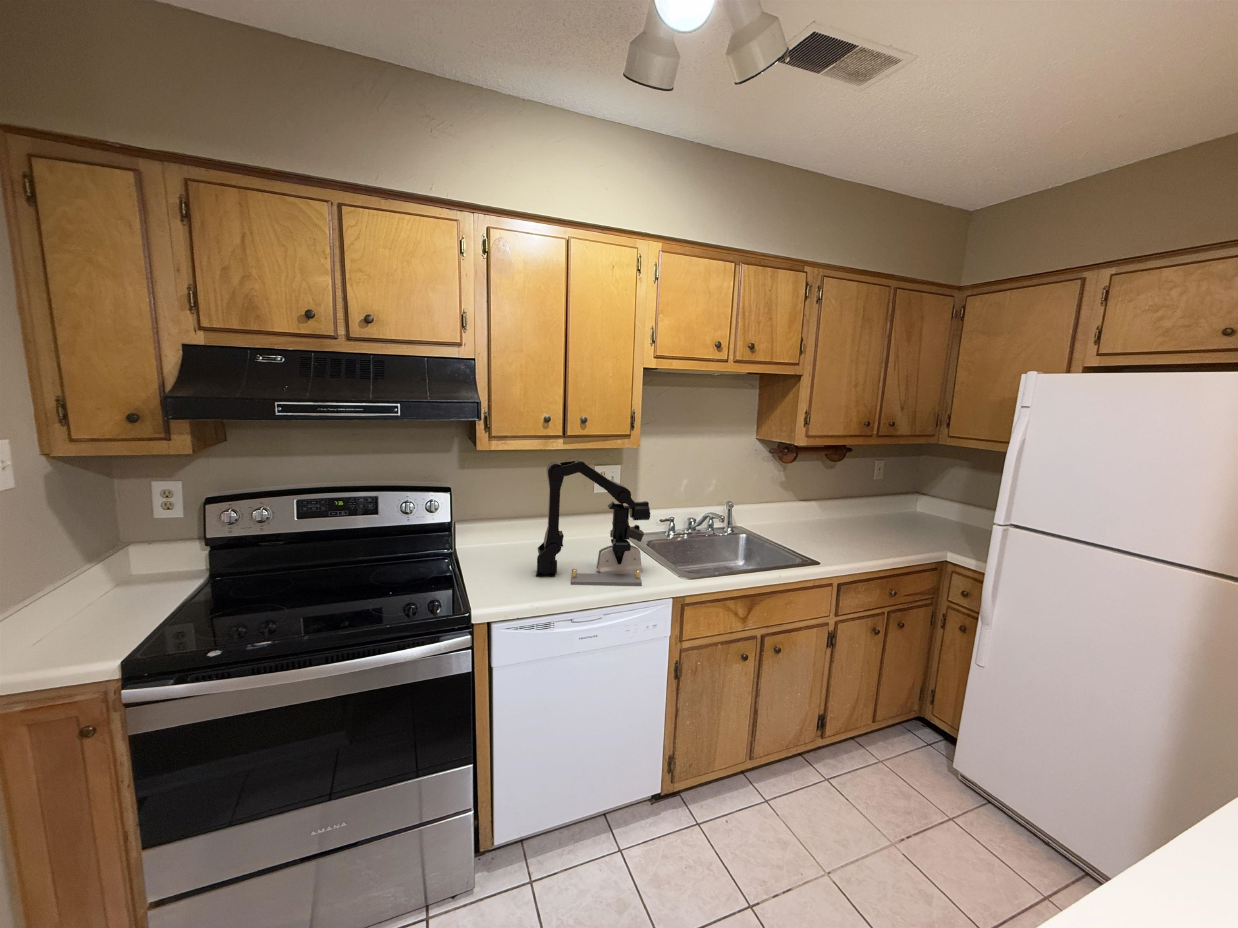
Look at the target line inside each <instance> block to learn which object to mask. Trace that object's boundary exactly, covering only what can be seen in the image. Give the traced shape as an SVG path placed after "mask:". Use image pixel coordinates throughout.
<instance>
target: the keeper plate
mask: <svg viewBox="0 0 1238 928" xmlns="http://www.w3.org/2000/svg"><path fill="white" fill-rule="evenodd" d="M577 570H578V569H577V568H572V569H571V575H570V576H571V577H570V585H571V586H607V587H609V586H611V587H612V586H614V587H617V586H618V587H619V586H622V587H643V583H642V578H641V573H640V570H636V573H631V574H600V573H597V572H596V573H595V572H594V573H590V572H589V573H587V572H584V573H583V572H580V573H579V572H578V571H577Z"/></svg>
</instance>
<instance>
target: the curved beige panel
mask: <svg viewBox="0 0 1238 928" xmlns="http://www.w3.org/2000/svg"><path fill="white" fill-rule="evenodd" d="M596 561H597V562H596V570H597V571H598V572H599V574H636V570H640V574H642V573H643V566H642V557H641V550H640V549H639V547H637V546H634V545H631V550H630V551H625V553H624V556H623V559H622V563H621V564H618V563H617V560H616V557H615V554H614V552H613V549H612V544H611V545H609V546H605V547H602V548H600V549H599V551H598V555H597V560H596Z"/></svg>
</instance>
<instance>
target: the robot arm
mask: <svg viewBox="0 0 1238 928" xmlns="http://www.w3.org/2000/svg"><path fill="white" fill-rule="evenodd" d="M545 470H546V477H547V484H548V505H547V506H548V509H547V510H548V511H547V526H546V531H545V534H544V539H543V542H542V543H541V544H540V545H539V546H538V547H537V552H538V555H537V557H536V574H535V576H536V577H540V578H541V577H547V578H548V577H549V578H551V577H555V576H556V574H557V573H558V559H556V557H557V555H558V554H559V553H560V552H561V550H562V548H563V547H564V543H563V540H564V533H563V530H560V529H559V528H560V527H559V526H560V508H561V507H560V505H561V501H560V500H561V488H562V486H563V482H564V478H565V477H568V476H571V475H574V474H577V473H579V474H581V475H583V476H584V477H586V478H587V479H588V480H590V481H592V482H594V483H595V484H596V485H598V486H599V487H600V488H602V489H603V490H605V491H606V492H607V493H608V494H609V495H610V496H611V497H612V498H614V500H615V501H617V503H615V502H614V501H611V502H610V503H609V504H607V508H608V509H609V510H612V524H611V525H612V528H611V530H610V531H609V534H610V535H609V537H610V538H611V539H610V542H611V545H612V549H613V552H614V554H615V557H616V560H617V563H618V564H621V563H622V559H623V556H624V553H625V551H630V550H631V546H632V545H631V543H630V541H629V540H630V539H632V540H635V541H637V542H639V543H642V540H643V537H644V535H645V533H644V531H643V530H642V529H641V526H640V525H639V524H635V525H633V526H630V523H629V520H630V518H631V519H632V521H650V518H651V510H650V506H649V505H650V503H649V501H647V500H646V501H645V500H644V501H634V499H633V498H632V492H631V491H630V489H629V488H627V487H626V486H625V485H623V484H620V483H619V482H616V481H614V480H611V479H609V478H608V477H606V476H604V475H603V474H601V472H598V471H597V470H595V469H594V468H592V467H591V466H590V465H588V464H587V463H585V461H583V460H582V459H576V460H571V461H568V460H567V461H561V462H559V461H551V462H549V463H548V464H547V465H546V469H545ZM624 504H626V505H624Z"/></svg>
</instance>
